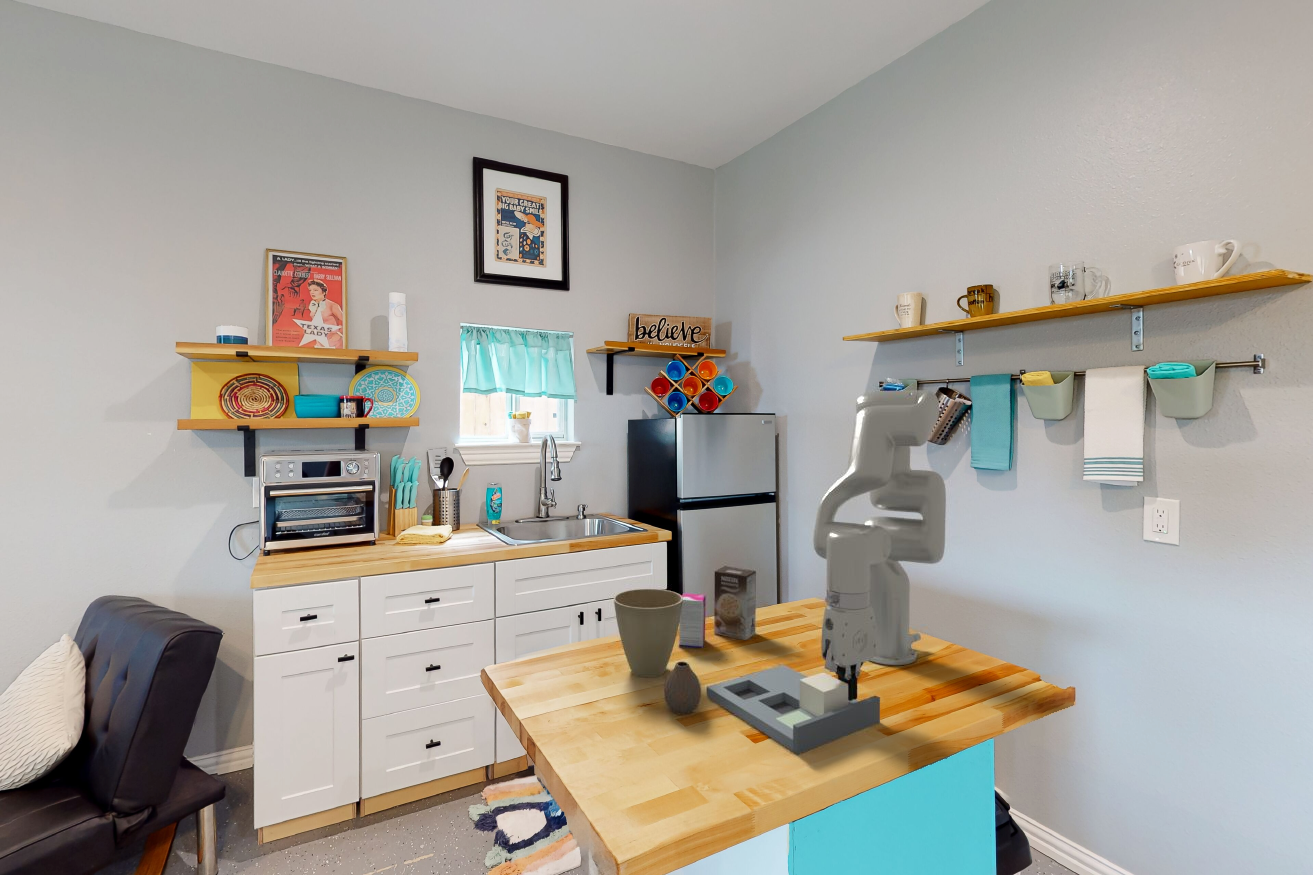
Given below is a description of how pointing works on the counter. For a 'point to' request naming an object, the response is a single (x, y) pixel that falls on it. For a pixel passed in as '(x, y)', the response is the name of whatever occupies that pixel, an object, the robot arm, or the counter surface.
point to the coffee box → (735, 602)
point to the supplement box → (692, 621)
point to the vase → (682, 689)
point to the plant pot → (648, 628)
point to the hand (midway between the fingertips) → (847, 696)
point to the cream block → (822, 694)
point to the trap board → (790, 709)
